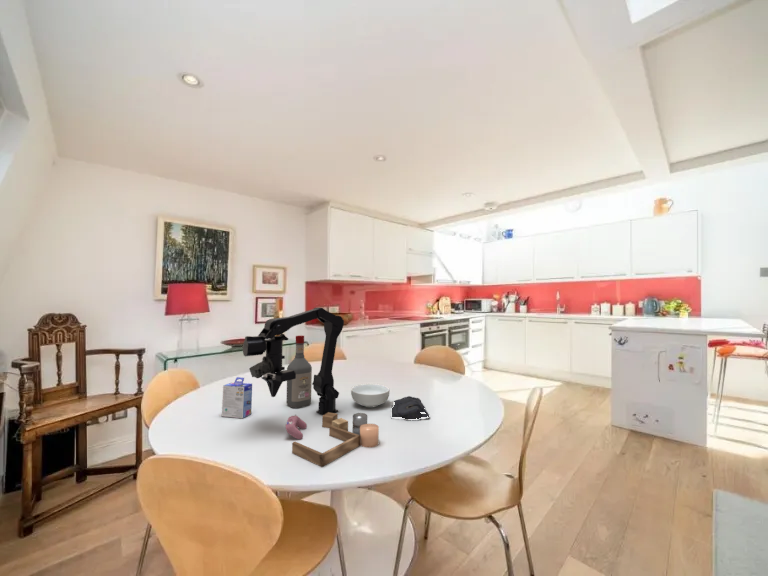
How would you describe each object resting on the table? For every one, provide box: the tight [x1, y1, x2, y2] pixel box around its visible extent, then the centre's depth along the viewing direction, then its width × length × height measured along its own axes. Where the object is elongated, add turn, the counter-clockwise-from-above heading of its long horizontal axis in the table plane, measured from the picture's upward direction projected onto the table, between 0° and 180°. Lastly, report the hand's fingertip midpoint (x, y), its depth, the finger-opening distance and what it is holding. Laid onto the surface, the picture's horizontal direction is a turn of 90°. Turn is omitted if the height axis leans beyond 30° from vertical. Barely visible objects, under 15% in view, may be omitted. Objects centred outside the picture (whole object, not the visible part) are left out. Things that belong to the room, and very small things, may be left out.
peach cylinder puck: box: [360, 423, 380, 448], centre depth 98 cm, size 6×6×5 cm
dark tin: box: [351, 412, 368, 435], centre depth 105 cm, size 5×5×6 cm
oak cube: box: [332, 417, 349, 431], centre depth 106 cm, size 4×4×4 cm
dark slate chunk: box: [391, 395, 430, 419], centre depth 128 cm, size 15×22×5 cm
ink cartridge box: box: [221, 376, 253, 419], centre depth 122 cm, size 10×6×14 cm, turn 78°
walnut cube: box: [321, 412, 339, 429], centre depth 112 cm, size 4×4×4 cm
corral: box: [291, 426, 361, 468], centre depth 94 cm, size 16×13×3 cm
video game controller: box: [285, 414, 308, 440], centre depth 105 cm, size 10×5×7 cm, turn 5°
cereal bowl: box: [350, 383, 390, 408], centre depth 135 cm, size 17×17×7 cm
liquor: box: [286, 335, 313, 409], centre depth 136 cm, size 9×9×30 cm
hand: (273, 396), depth 111 cm, fingers closed
